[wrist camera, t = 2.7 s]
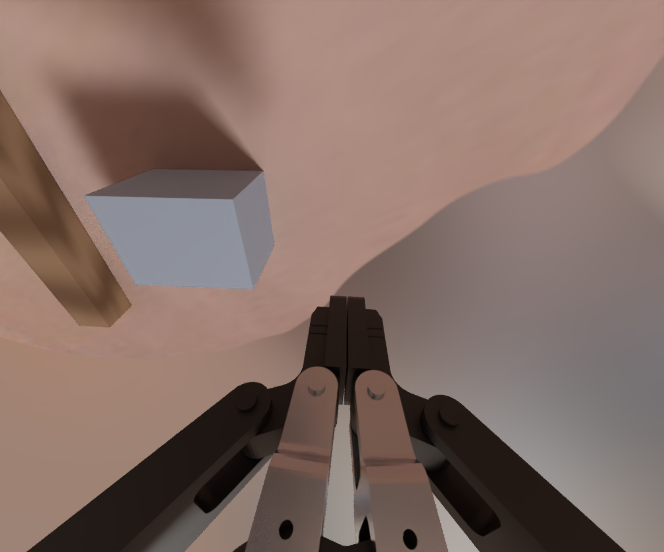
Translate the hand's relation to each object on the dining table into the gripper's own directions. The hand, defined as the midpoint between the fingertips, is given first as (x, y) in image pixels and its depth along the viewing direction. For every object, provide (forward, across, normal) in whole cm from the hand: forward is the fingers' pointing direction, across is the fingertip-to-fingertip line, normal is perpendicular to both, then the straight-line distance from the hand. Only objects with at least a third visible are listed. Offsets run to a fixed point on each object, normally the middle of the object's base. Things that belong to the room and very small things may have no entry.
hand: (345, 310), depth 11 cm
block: (+10, +10, 0) cm, 14 cm away
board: (+10, +24, 0) cm, 26 cm away
